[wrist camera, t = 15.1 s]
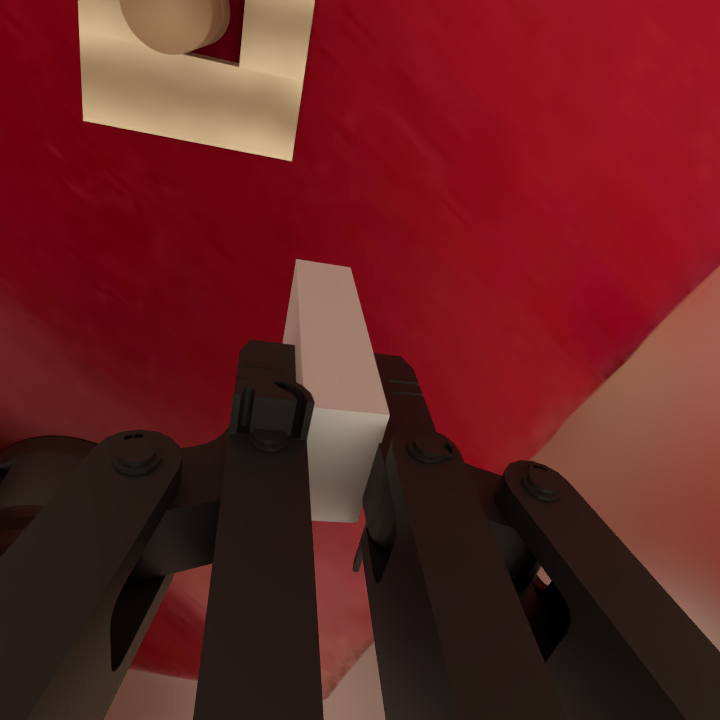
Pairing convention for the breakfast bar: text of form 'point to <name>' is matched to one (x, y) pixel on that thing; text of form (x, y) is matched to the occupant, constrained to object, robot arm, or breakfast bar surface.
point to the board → (199, 80)
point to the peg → (177, 23)
